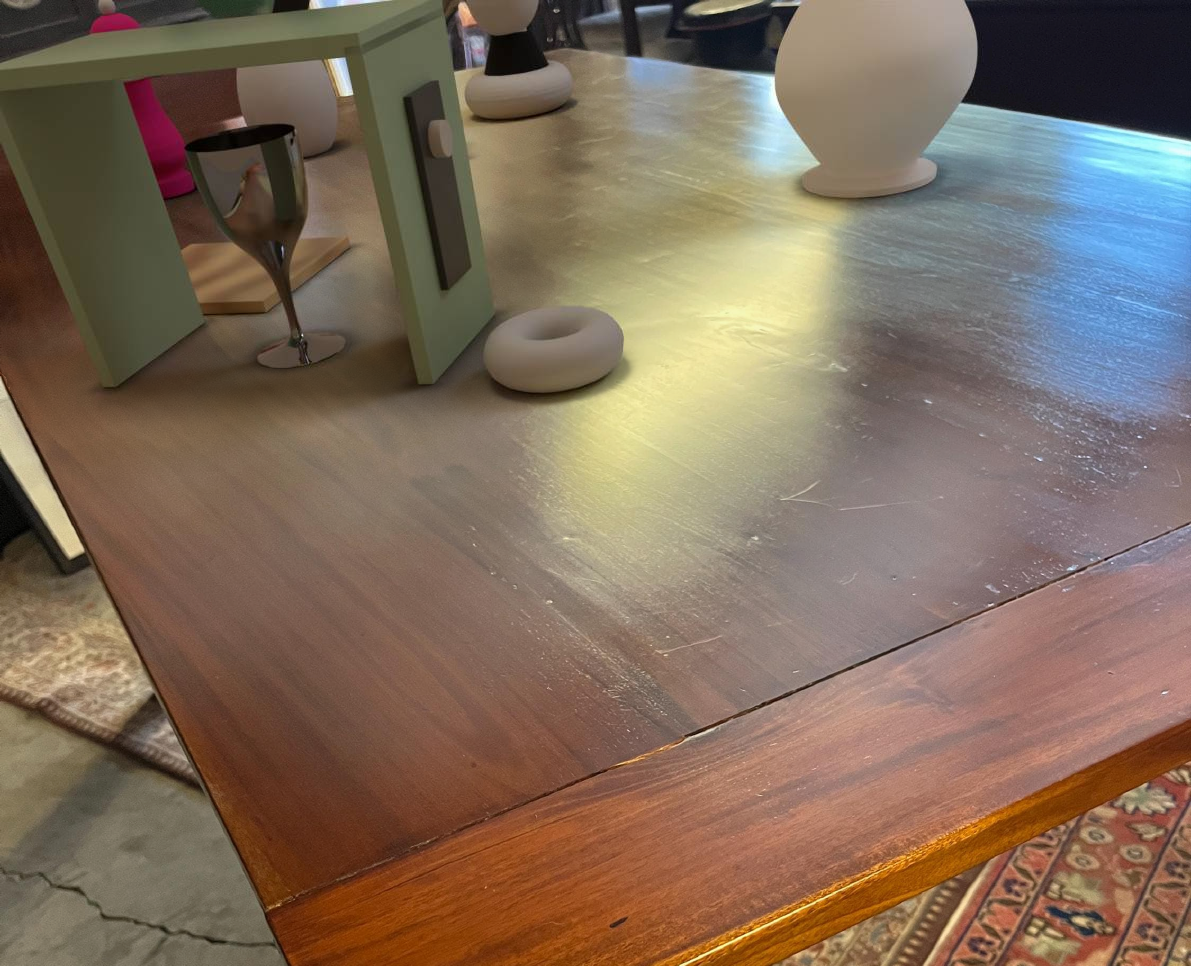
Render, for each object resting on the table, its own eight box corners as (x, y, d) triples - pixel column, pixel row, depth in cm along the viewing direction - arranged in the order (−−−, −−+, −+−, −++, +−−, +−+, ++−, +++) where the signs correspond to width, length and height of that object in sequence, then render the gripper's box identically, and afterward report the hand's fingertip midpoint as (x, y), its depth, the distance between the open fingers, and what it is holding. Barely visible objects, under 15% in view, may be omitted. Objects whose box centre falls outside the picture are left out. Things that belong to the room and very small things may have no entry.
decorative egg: (359, 137, 149) (329, 2, 139) (327, 160, 140) (293, 18, 130) (276, 144, 151) (241, 13, 141) (240, 168, 143) (200, 29, 133)
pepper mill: (175, 200, 133) (107, -1, 120) (128, 201, 135) (57, 5, 122) (210, 183, 138) (149, -12, 124) (164, 185, 140) (99, -6, 127)
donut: (469, 371, 81) (517, 413, 73) (460, 323, 78) (508, 361, 71) (592, 337, 83) (650, 374, 76) (587, 289, 81) (646, 322, 73)
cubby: (103, 387, 87) (-30, 72, 72) (193, 322, 96) (92, 33, 82) (452, 384, 79) (380, 29, 64) (512, 313, 88) (461, -8, 74)
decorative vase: (812, 218, 98) (818, -148, 81) (751, 174, 111) (746, -147, 95) (999, 183, 99) (1043, -183, 83) (917, 144, 113) (941, -178, 96)
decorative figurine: (586, 93, 153) (567, -89, 140) (560, 118, 143) (537, -76, 130) (486, 102, 157) (458, -75, 144) (453, 126, 147) (421, -61, 133)
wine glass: (350, 325, 91) (297, 117, 81) (351, 358, 85) (293, 139, 75) (255, 342, 90) (190, 135, 80) (249, 377, 84) (177, 158, 74)
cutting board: (94, 317, 101) (89, 306, 100) (194, 254, 113) (191, 243, 113) (266, 312, 96) (262, 300, 95) (350, 246, 109) (348, 236, 108)
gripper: (449, -280, 76) (376, 65, 84) (191, -324, 84) (147, -5, 92) (382, -355, 69) (309, 27, 77) (109, -394, 77) (70, -44, 85)
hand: (221, 10), depth 85 cm, fingers open, 13 cm apart
